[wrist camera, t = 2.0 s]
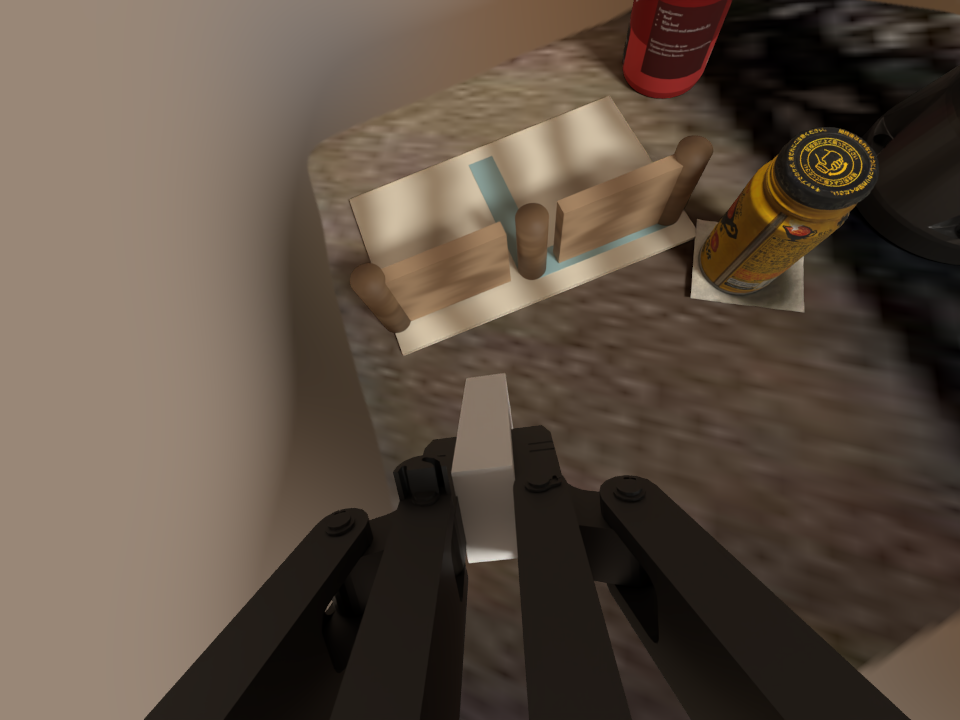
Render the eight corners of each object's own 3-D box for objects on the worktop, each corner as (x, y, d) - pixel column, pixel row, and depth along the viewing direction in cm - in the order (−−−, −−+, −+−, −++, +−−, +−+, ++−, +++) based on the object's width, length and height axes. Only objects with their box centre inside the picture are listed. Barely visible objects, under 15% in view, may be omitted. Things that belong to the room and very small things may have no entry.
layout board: (608, 99, 43) (609, 95, 43) (698, 237, 38) (700, 234, 37) (350, 202, 43) (349, 199, 43) (403, 355, 38) (402, 354, 37)
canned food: (664, 28, 45) (703, -113, 35) (720, 73, 43) (780, -64, 32) (603, 65, 45) (624, -67, 34) (656, 114, 42) (696, -12, 32)
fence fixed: (524, 284, 38) (522, 234, 31) (514, 261, 39) (509, 207, 32) (684, 219, 38) (719, 155, 31) (671, 198, 39) (701, 130, 32)
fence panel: (503, 263, 38) (496, 210, 31) (513, 286, 38) (509, 237, 31) (380, 313, 38) (345, 270, 31) (388, 337, 38) (354, 299, 31)
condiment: (695, 220, 38) (771, 106, 26) (803, 232, 37) (931, 118, 25) (689, 299, 36) (767, 213, 25) (801, 314, 35) (938, 232, 24)
